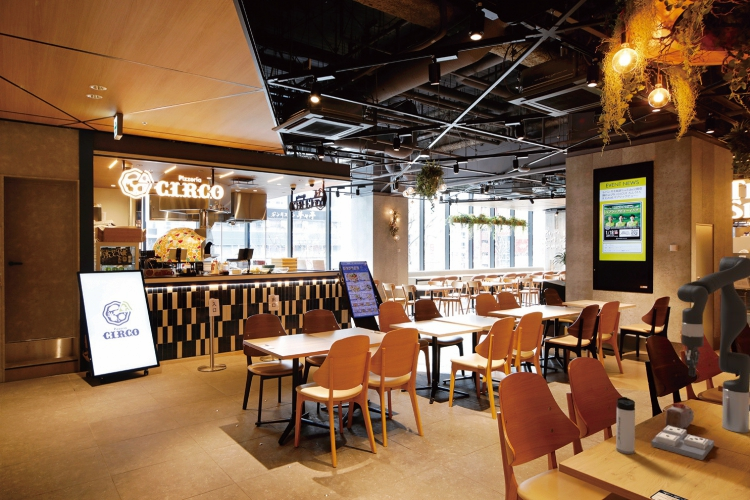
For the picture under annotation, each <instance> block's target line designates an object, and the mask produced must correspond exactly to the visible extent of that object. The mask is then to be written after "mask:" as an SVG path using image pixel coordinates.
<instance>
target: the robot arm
mask: <svg viewBox="0 0 750 500" xmlns="http://www.w3.org/2000/svg"><path fill="white" fill-rule="evenodd" d="M749 277H750V258H748V257H745V256H723V257H722V258H721V259H720V261H719V264H718V271H717V272H713V273H709V274H706V275H705V276H703V277H701V278H699V279H698V280H694V281H691V282H688V283H685V284H682V285H681V286H680V287H679V288H678V290H677V292H676V295H677V298H678V299H679V300H680V301H681V302H683V303H684V302H685V303H691V304H693V305H692V307H687V308H684V309H683V310H682V313H681V314H682V315H681V316H682V317H681V318H682V323H681V331H680V332H681V338H680V339H681V345H683V346H685V347H686V349H685V351H684V352H685V355H684V361H685V364H686V367H688V376H689V377H692V378H693V377H694V378H695V377H696V375H697V374H696V373H697V367H698V366H697V365H698V364H699V358H700V350H699V349H698V348H702V347H704V331H705V330H704V324H703V323H704V321H703V319H704V312H705V309H706V305H707V303H708V299H709V295H712V294H714V293H716V291H718V290H720V317H719V318H720V345H719V353H718V355H719V356H718V367H719V370H720V371H721V372H722V373H726V374H732V375H738V376H739V377H738V378H735V379H729V380H724V381H723V382H722V421H721V422H722V428H724V429H725V430H728V431H730V432H734V433H742V434H743V433H744V434H747V433H749V432H750V355H749V354H746V353H740V352H733V351H731V347H732V344H733V342H734V340H735V339H736V338H737V337H738V336H739V335H740V334H741V333H742V331H743V330H745V327H746V326H747V323H748V309H747V306H746V304H745V303H744V302H745V301H743V299H742V298H741V297H740V295H739V294H738V292H737V290H736V287H735V282H738V281H742V280H744V279H747V278H749Z"/></svg>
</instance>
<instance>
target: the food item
mask: <svg viewBox="0 0 750 500" xmlns="http://www.w3.org/2000/svg"><path fill="white" fill-rule="evenodd" d="M694 418H695V415H694V411H693V410H692V407H691V406H688V405H686V404H683V403H679V402H676V403H675V402H674V403H672V404H671V407H668V408H667V409H665V426H666V427H667V426H668V425H669V426H672V427H676V428H680V429H688V428H689V427H688V426H690V425H691V424H692V423H693V421H694Z"/></svg>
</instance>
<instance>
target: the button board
mask: <svg viewBox="0 0 750 500" xmlns="http://www.w3.org/2000/svg"><path fill="white" fill-rule="evenodd" d="M668 427H669V425H668V426H666V427H664V428H663V429H662V431H660V432H658V434H656V435H655V437H654V438H653V439H652V440H651V441H650V443H651V444H650V446H651V447H654V448H657V449H660V450H664V451H668V452H672V453H674V454H678V455H682V456H685V457H689V458H692V459H696V460H700V461H704V459H705V458H706V456H707V455H708V454H709V453H710V452H711V450H713V448H714V446H715V441H714V440H711V439H710V438H709V439H707V438H704V437H700V436H697V435H694V434H693V435H691V434H690V433H689V434H688V433H687V429H685V428H682V429H683V432H682V433H677V432H673V431H669V430H666V429H667V428H668ZM671 427H672V426H671ZM675 428H676V427H675ZM679 429H680V428H679ZM661 433H666V434H670V435H674V436H677V438H676V439H675V440H670V439H667V438H663V437H659V435H660V434H661ZM689 436H694V437H698V438H702V439H705V442H704V443H699V442H695V441H691V440H687V438H688V437H689Z"/></svg>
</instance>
